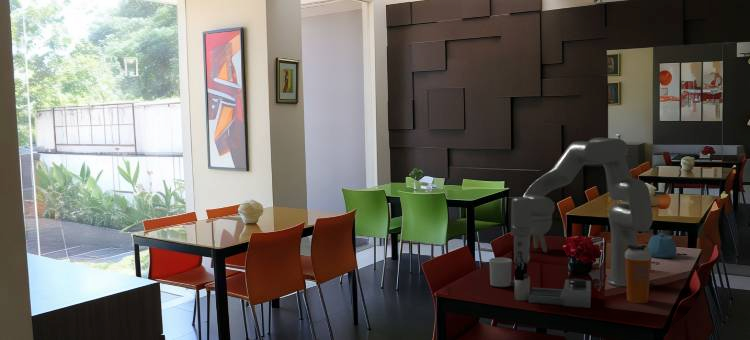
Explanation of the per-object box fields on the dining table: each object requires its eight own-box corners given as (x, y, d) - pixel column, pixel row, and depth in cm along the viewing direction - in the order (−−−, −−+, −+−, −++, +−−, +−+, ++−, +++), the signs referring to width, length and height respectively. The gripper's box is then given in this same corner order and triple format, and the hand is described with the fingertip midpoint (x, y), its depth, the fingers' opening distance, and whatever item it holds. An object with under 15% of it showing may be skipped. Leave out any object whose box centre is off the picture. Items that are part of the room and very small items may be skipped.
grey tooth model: (556, 253, 314) (556, 207, 312) (522, 254, 315) (522, 208, 313) (547, 246, 330) (547, 202, 328) (515, 247, 331) (515, 203, 329)
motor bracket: (590, 294, 245) (591, 274, 244) (590, 307, 229) (590, 286, 228) (532, 291, 252) (532, 271, 251) (528, 303, 236) (528, 282, 235)
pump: (530, 296, 244) (530, 273, 243) (529, 301, 239) (529, 277, 238) (511, 295, 247) (511, 272, 246) (509, 299, 241) (509, 276, 240)
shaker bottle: (619, 297, 240) (620, 243, 238) (643, 296, 241) (643, 242, 239) (631, 304, 231) (632, 249, 230) (655, 303, 232) (656, 247, 230)
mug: (507, 289, 255) (507, 263, 254) (485, 286, 260) (485, 261, 259) (516, 282, 264) (516, 257, 263) (496, 280, 269) (495, 255, 268)
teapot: (645, 236, 297) (648, 229, 313) (645, 259, 298) (647, 251, 314) (676, 238, 291) (677, 231, 307) (676, 262, 292) (676, 253, 308)
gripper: (529, 235, 231) (528, 283, 232) (534, 227, 247) (533, 272, 249) (508, 234, 233) (507, 281, 235) (514, 226, 250) (513, 270, 251)
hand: (520, 276), depth 242 cm, fingers open, 9 cm apart
